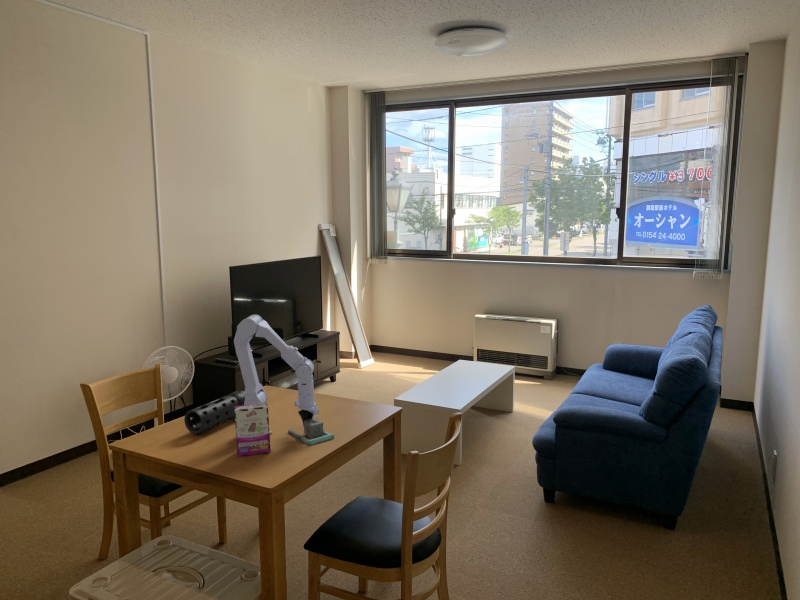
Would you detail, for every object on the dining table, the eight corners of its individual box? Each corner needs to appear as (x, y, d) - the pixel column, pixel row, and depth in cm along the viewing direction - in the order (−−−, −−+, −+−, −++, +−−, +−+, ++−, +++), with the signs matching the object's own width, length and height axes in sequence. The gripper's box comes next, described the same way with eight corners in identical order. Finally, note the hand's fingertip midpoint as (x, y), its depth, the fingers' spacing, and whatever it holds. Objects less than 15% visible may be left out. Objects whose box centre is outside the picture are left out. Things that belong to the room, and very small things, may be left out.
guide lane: (310, 445, 210) (309, 441, 210) (288, 432, 222) (288, 428, 222) (334, 438, 216) (334, 434, 216) (311, 426, 228) (311, 422, 228)
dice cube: (310, 438, 216) (311, 425, 215) (304, 432, 220) (304, 420, 219) (322, 434, 219) (323, 422, 218) (315, 429, 223) (316, 417, 222)
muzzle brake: (184, 435, 222) (182, 408, 221) (235, 412, 247) (234, 388, 246) (204, 438, 218) (202, 411, 216) (253, 415, 243) (252, 390, 241)
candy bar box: (269, 447, 208) (267, 402, 206) (270, 453, 203) (268, 406, 201) (236, 451, 205) (234, 405, 203) (236, 457, 200) (234, 410, 198)
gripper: (325, 395, 216) (327, 431, 218) (305, 387, 227) (307, 421, 229) (308, 399, 211) (310, 436, 213) (289, 390, 223) (290, 425, 225)
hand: (307, 428), depth 221 cm, fingers closed, pressing on dice cube
